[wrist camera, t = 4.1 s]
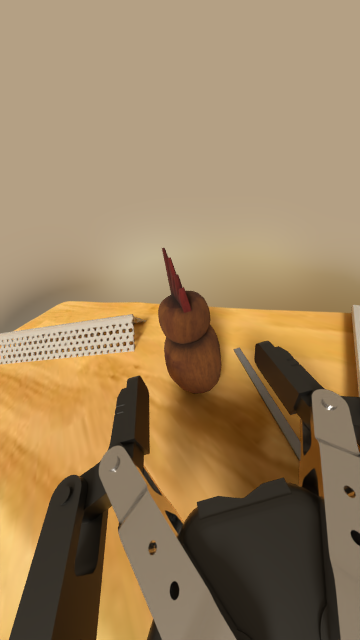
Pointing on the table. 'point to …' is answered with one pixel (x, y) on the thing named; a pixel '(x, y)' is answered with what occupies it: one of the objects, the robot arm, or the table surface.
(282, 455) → the table surface
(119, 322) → the corner bead
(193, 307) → the wooden figurine
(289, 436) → the thin grey rod
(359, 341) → the baseboard molding
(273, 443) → the table surface
